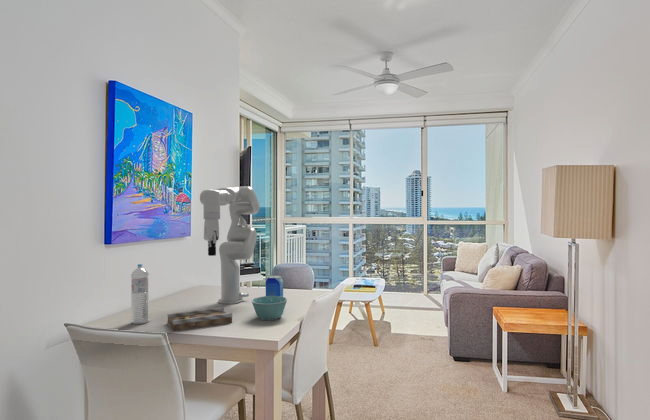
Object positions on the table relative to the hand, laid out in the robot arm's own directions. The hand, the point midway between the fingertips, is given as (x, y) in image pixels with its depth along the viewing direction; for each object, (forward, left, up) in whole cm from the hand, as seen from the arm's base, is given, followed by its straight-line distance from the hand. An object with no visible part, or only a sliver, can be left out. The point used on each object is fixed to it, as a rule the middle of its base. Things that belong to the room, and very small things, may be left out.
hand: (212, 255), depth 195 cm
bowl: (-20, +21, -27) cm, 40 cm away
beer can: (-28, +8, -27) cm, 40 cm away
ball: (+14, +14, -26) cm, 33 cm away
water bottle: (+31, 0, -27) cm, 41 cm away
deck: (+9, +14, -27) cm, 32 cm away
